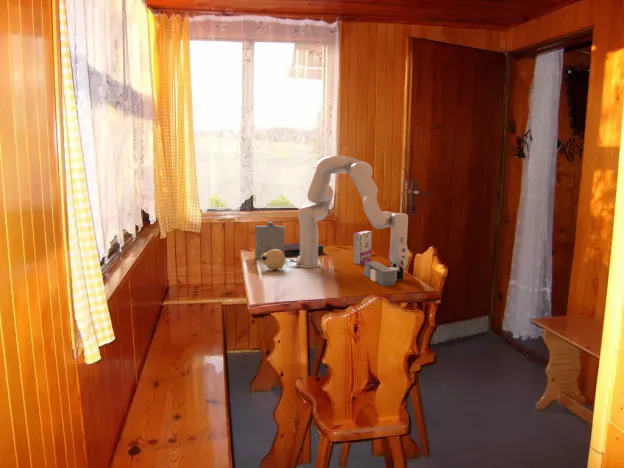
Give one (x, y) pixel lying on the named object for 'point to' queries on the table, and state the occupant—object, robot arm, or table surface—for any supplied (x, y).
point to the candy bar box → (362, 247)
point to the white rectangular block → (374, 273)
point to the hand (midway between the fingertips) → (396, 277)
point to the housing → (381, 273)
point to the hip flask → (269, 238)
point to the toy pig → (273, 259)
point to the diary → (298, 249)
